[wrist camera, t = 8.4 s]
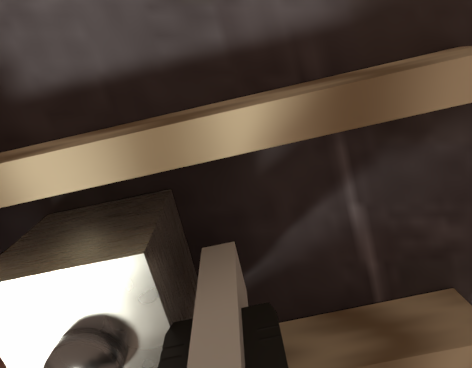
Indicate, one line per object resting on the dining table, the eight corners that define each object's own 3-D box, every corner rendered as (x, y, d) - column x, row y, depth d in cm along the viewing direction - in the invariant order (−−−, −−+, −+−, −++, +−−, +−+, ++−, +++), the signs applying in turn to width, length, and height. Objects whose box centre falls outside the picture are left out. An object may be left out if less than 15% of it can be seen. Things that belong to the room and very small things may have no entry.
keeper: (100, 326, 18) (37, 457, 12) (48, 214, 15) (-63, 308, 9) (206, 306, 17) (197, 429, 12) (171, 188, 15) (137, 268, 9)
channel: (33, 392, 19) (-46, 528, 14) (-103, 176, 14) (-314, 248, 9) (452, 309, 18) (556, 418, 13) (459, 46, 13) (631, 32, 8)
